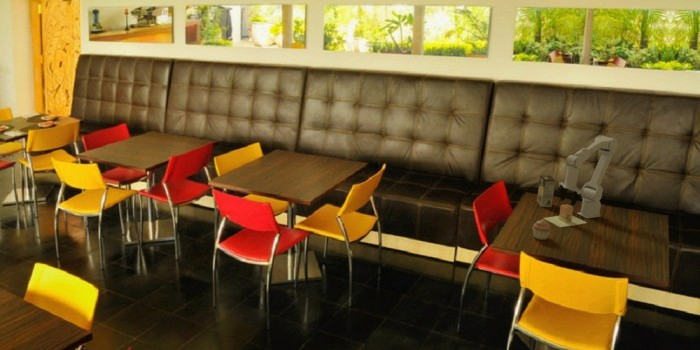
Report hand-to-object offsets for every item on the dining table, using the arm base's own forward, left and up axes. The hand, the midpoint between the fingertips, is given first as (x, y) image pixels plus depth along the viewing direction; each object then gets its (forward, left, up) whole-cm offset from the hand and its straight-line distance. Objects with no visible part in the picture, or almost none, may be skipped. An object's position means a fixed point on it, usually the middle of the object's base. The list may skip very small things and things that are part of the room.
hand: (567, 202), depth 314 cm
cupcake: (+28, +14, -11) cm, 33 cm away
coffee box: (-7, -24, -11) cm, 28 cm away
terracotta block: (0, 0, -6) cm, 6 cm away
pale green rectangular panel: (0, 0, -10) cm, 10 cm away
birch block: (0, 0, -10) cm, 10 cm away
